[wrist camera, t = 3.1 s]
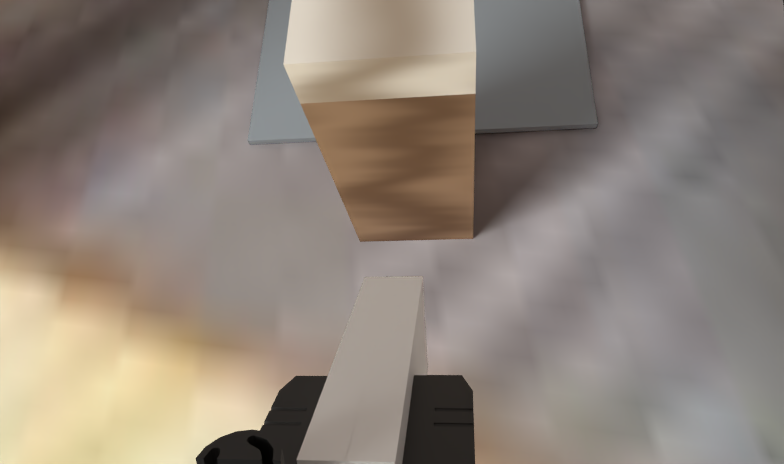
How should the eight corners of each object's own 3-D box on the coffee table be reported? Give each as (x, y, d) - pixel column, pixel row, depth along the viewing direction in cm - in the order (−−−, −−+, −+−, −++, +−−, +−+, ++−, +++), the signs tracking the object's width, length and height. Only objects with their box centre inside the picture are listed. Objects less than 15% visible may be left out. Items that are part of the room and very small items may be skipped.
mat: (249, 144, 34) (247, 140, 34) (275, -25, 40) (273, -30, 39) (596, 127, 32) (597, 123, 31) (570, -51, 37) (570, -56, 37)
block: (360, 241, 31) (283, 64, 18) (365, 146, 33) (300, -68, 20) (472, 238, 30) (476, 51, 17) (469, 141, 32) (469, -84, 20)
